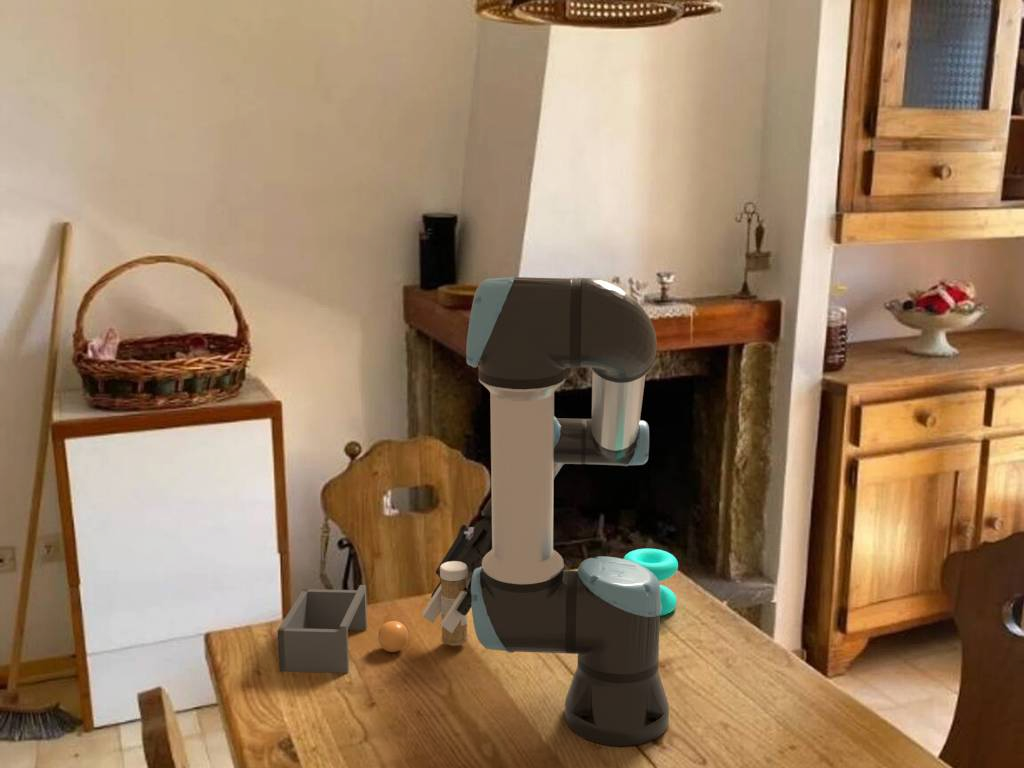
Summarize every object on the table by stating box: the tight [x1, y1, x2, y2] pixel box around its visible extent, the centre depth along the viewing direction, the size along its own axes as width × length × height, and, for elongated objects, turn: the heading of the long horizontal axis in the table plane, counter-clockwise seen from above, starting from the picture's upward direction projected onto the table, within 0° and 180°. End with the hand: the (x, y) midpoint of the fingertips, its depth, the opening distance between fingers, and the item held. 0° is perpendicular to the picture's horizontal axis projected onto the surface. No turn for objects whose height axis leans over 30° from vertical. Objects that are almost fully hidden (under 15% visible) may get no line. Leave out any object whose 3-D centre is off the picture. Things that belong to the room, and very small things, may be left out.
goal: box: [276, 584, 368, 674], centre depth 164 cm, size 16×11×8 cm
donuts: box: [623, 548, 679, 617], centre depth 179 cm, size 10×10×10 cm
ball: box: [377, 620, 409, 653], centre depth 163 cm, size 5×5×5 cm
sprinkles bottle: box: [439, 561, 469, 647], centre depth 164 cm, size 5×5×13 cm
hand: (436, 623), depth 162 cm, fingers closed on sprinkles bottle, 4 cm apart
